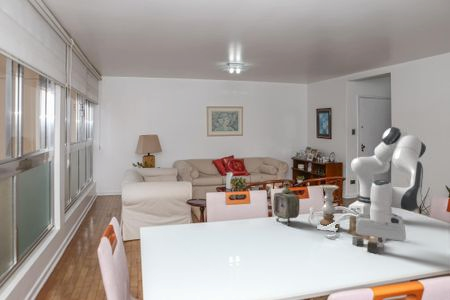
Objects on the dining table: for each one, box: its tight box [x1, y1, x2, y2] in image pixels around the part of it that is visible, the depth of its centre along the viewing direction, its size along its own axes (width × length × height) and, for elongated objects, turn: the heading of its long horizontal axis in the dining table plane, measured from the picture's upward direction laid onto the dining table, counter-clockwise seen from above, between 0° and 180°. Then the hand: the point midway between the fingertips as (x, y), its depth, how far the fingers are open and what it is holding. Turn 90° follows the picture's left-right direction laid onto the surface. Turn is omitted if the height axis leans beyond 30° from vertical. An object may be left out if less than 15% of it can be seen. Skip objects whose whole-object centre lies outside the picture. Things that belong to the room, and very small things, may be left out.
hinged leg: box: [366, 236, 378, 253], centre depth 153 cm, size 15×4×4 cm, turn 151°
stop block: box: [351, 236, 365, 247], centre depth 157 cm, size 2×5×4 cm, turn 121°
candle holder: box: [319, 184, 341, 229], centre depth 183 cm, size 11×11×24 cm
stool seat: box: [347, 214, 383, 242], centre depth 170 cm, size 16×11×9 cm
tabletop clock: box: [273, 180, 300, 226], centre depth 193 cm, size 14×9×25 cm, turn 25°
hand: (379, 246), depth 147 cm, fingers closed
